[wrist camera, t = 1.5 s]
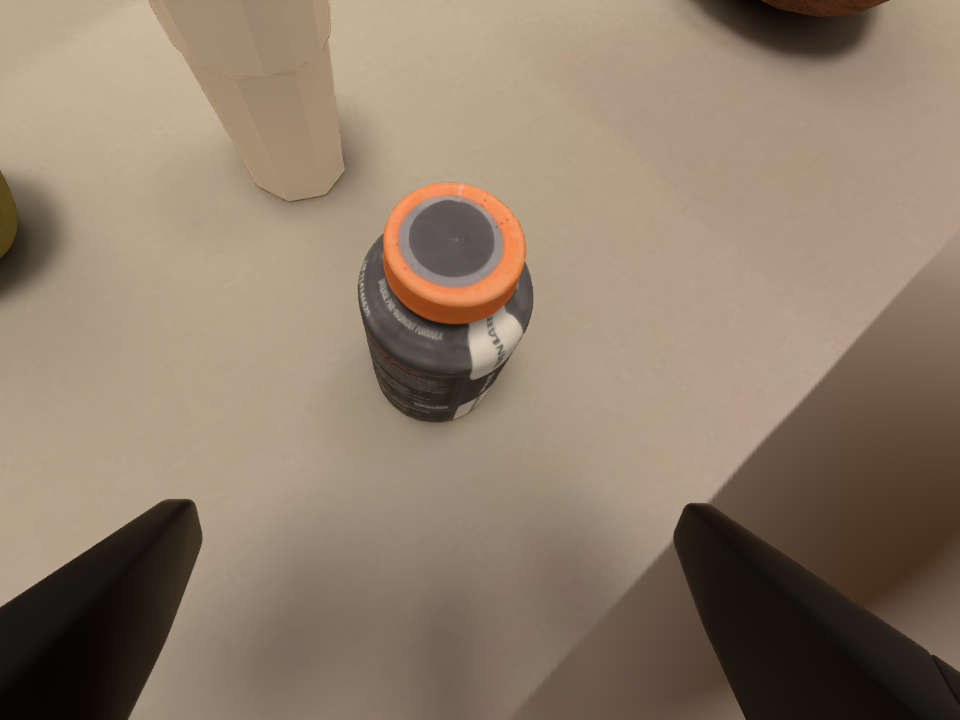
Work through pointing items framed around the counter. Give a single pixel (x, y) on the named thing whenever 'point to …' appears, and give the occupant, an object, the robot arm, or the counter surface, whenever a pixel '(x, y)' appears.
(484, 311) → the pill bottle
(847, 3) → the bowl
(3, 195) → the apple
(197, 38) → the cup
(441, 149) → the counter surface
